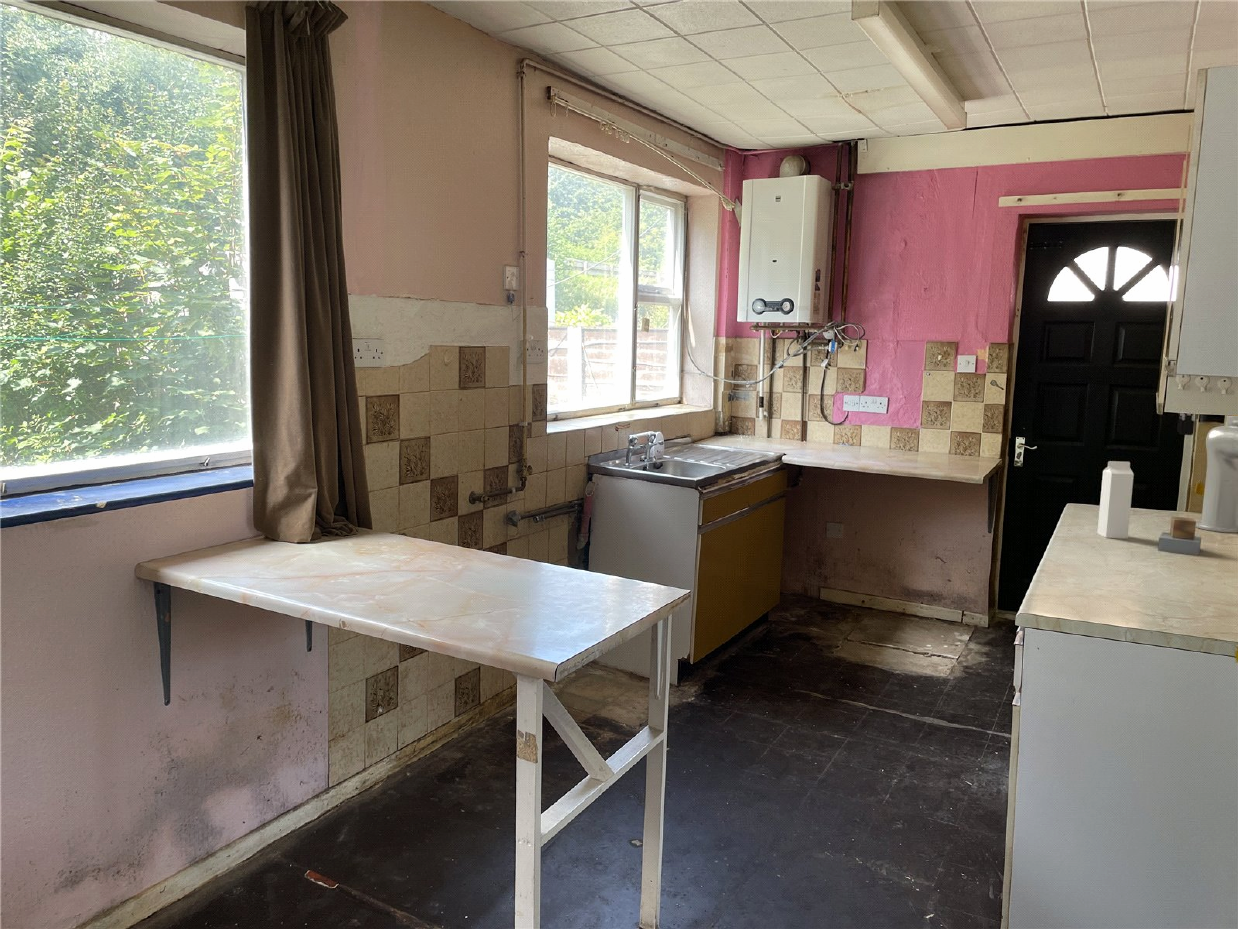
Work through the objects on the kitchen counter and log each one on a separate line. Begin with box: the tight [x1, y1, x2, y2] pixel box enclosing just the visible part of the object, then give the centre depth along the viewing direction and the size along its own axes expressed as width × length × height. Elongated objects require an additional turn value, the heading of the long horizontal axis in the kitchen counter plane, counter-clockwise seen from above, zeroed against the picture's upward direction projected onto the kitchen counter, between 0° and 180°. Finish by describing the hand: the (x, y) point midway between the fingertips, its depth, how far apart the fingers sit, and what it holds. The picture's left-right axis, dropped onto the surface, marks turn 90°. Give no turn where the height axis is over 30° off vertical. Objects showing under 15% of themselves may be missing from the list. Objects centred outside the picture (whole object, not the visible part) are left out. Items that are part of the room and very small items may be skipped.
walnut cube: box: [1169, 516, 1197, 540], centre depth 237 cm, size 5×5×5 cm
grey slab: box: [1157, 531, 1202, 556], centre depth 238 cm, size 9×9×4 cm
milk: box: [1096, 460, 1135, 540], centre depth 253 cm, size 6×6×22 cm
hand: (1185, 433), depth 252 cm, fingers open, 9 cm apart
